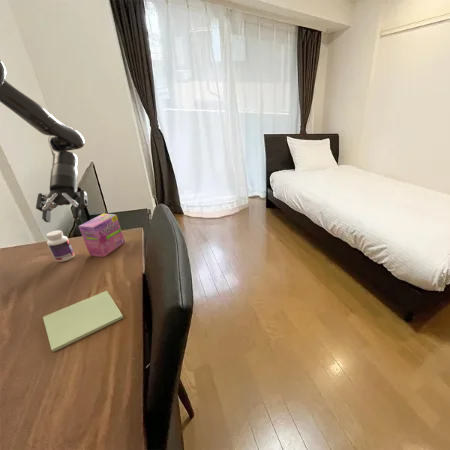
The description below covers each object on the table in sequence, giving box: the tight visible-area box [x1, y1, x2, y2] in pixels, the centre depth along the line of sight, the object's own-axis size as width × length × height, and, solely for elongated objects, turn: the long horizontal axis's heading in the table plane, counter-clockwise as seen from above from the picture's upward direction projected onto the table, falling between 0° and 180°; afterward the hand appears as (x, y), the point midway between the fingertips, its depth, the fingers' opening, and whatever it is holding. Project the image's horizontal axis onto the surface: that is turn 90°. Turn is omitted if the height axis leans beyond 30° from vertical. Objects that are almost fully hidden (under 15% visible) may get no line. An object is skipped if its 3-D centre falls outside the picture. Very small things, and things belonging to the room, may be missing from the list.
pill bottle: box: [46, 230, 76, 263], centre depth 91 cm, size 5×5×10 cm
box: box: [78, 213, 126, 258], centre depth 96 cm, size 10×6×12 cm, turn 171°
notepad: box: [42, 290, 124, 353], centre depth 68 cm, size 14×14×1 cm
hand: (61, 220), depth 94 cm, fingers open, 8 cm apart
